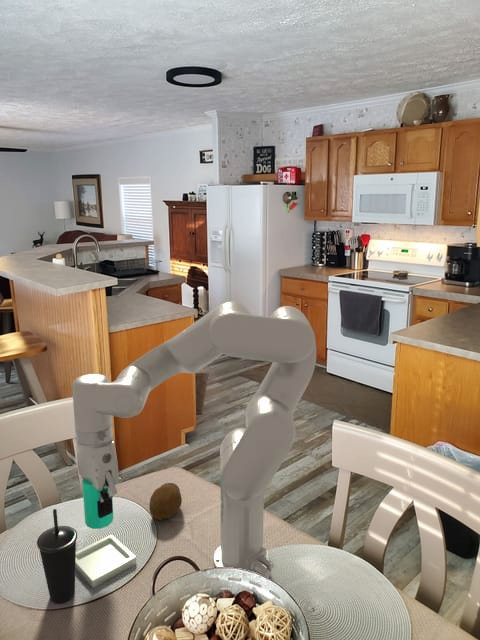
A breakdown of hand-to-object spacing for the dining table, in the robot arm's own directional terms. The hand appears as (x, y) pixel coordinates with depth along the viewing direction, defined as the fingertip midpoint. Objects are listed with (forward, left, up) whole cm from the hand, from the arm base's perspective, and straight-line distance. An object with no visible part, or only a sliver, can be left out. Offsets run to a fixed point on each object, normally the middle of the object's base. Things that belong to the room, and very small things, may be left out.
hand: (98, 508), depth 111 cm
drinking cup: (-3, +11, -14) cm, 18 cm away
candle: (0, 0, -3) cm, 3 cm away
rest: (0, 0, -14) cm, 14 cm away
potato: (+5, -21, -14) cm, 26 cm away
